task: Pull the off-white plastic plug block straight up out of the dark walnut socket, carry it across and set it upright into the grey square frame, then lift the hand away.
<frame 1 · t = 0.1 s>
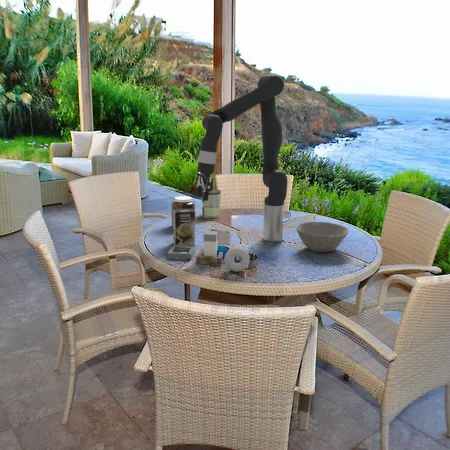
hand: (201, 198, 218), 22 cm above the table, tool pointing down, fingers open, 8 cm apart
donut: (236, 271, 196), on the table
coffee can: (211, 215, 277), on the table
grey square frame: (181, 255, 213), on the table
jar: (183, 226, 256), on the table
coffee box: (183, 244, 227), on the table
ceramic bowl: (320, 250, 224), on the table
plug block: (210, 246, 206), in the walnut socket
walnut socket: (210, 260, 207), on the table
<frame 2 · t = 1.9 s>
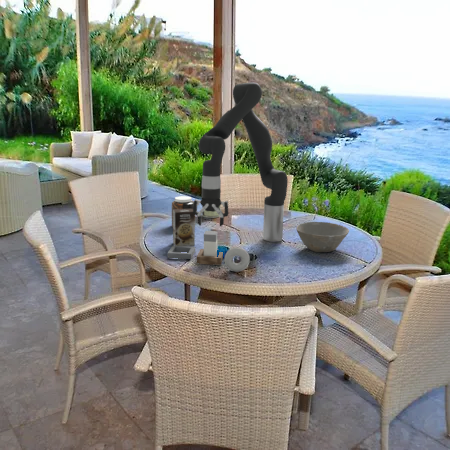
hand: (210, 225, 203), 15 cm above the table, tool pointing down, fingers open, 8 cm apart
nothing on the table moved.
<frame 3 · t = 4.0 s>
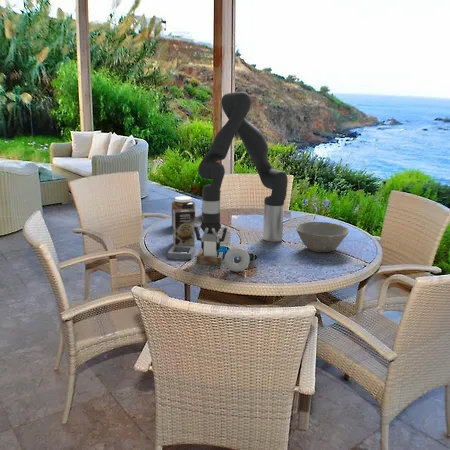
hand: (210, 250, 206), 4 cm above the table, tool pointing down, fingers closed on plug block, 5 cm apart
plug block: (210, 246, 206), in the walnut socket, touching gripper
everything else where it was.
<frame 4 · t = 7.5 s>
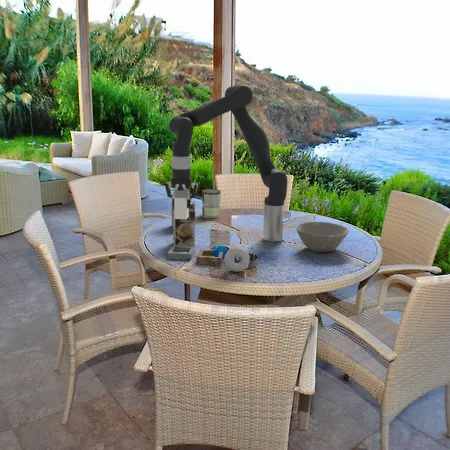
hand: (181, 207, 207), 21 cm above the table, tool pointing down, fingers closed on plug block, 5 cm apart
plug block: (181, 203, 206), point 23 cm above the table, touching gripper
everything else where it was.
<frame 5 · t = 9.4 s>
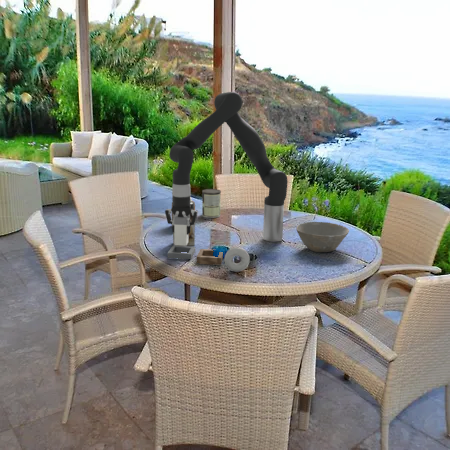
hand: (181, 233, 210), 10 cm above the table, tool pointing down, fingers closed on plug block, 5 cm apart
plug block: (181, 230, 210), point 11 cm above the table, touching gripper
everything else where it was.
when the fingers open (6 cm above the table, at t = 11.1 s): plug block drops 1 cm, resting in grey square frame.
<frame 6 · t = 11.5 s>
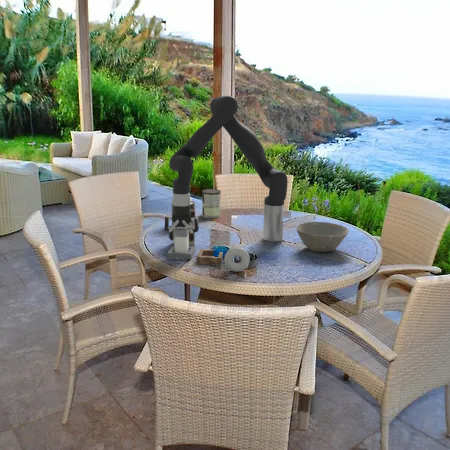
hand: (181, 240, 211), 7 cm above the table, tool pointing down, fingers open, 8 cm apart
plug block: (181, 242, 211), in the grey square frame
everything else where it was.
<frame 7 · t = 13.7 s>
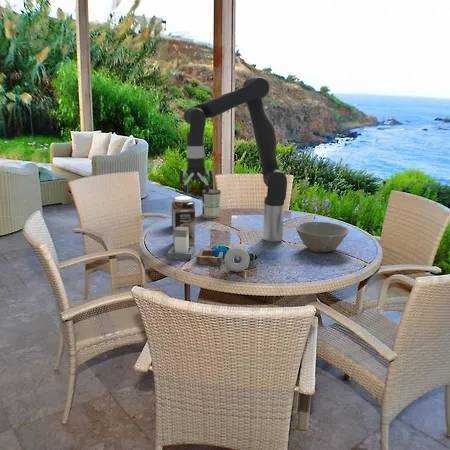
hand: (196, 193, 215), 25 cm above the table, tool pointing down, fingers open, 8 cm apart
nothing on the table moved.
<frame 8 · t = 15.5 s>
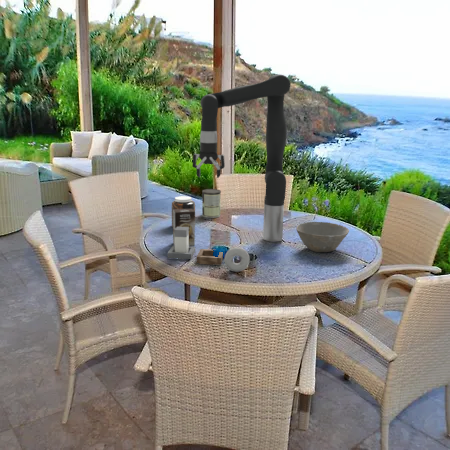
hand: (208, 177, 225), 30 cm above the table, tool pointing down, fingers open, 8 cm apart
nothing on the table moved.
at the end: plug block 0.0 cm off-centre on the grey square frame, point 6.0 cm above the grey square frame's base; plug block tilted 0°; the gripper is holding nothing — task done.
